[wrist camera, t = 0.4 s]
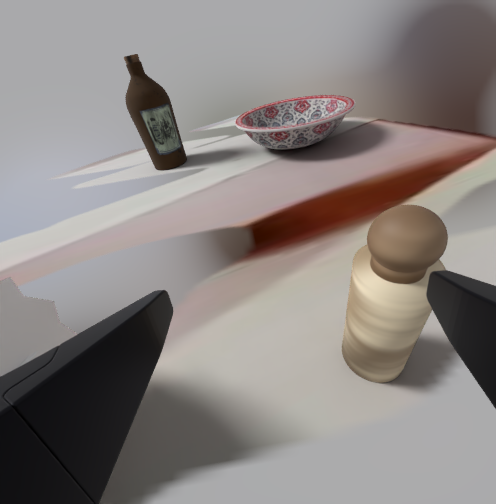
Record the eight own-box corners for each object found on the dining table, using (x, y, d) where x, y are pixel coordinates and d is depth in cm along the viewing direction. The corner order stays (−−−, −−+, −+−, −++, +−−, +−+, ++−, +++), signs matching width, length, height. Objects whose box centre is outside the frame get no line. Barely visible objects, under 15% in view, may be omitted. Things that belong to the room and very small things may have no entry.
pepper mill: (416, 378, 20) (505, 229, 11) (353, 386, 21) (385, 248, 11) (387, 325, 24) (433, 180, 15) (334, 332, 25) (346, 196, 15)
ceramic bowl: (376, 131, 63) (381, 95, 58) (297, 176, 52) (295, 136, 47) (291, 122, 83) (289, 94, 78) (220, 154, 71) (213, 123, 66)
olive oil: (148, 166, 74) (103, 62, 58) (181, 153, 78) (146, 52, 62) (160, 174, 67) (111, 58, 51) (195, 160, 71) (159, 48, 55)
